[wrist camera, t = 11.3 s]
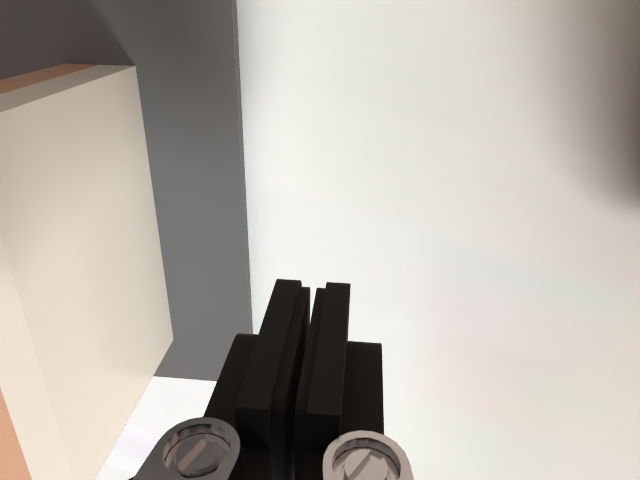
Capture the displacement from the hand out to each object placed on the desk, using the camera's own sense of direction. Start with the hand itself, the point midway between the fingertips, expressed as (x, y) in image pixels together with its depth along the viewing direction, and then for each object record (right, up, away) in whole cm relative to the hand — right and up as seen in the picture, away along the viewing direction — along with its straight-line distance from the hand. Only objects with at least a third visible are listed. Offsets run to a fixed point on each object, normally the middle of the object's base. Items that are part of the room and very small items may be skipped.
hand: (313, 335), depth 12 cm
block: (-6, +3, +6) cm, 9 cm away
